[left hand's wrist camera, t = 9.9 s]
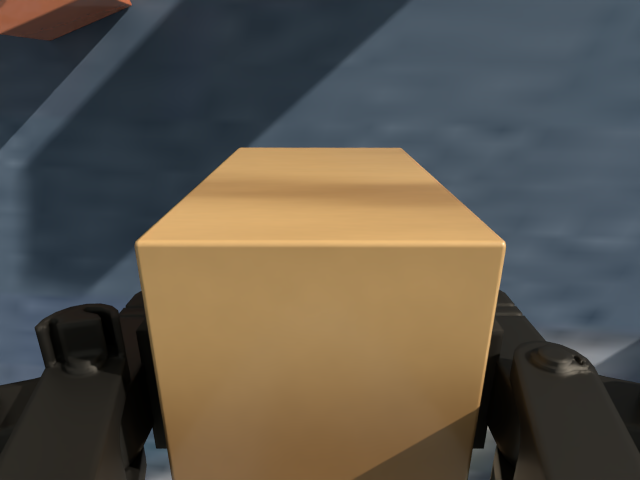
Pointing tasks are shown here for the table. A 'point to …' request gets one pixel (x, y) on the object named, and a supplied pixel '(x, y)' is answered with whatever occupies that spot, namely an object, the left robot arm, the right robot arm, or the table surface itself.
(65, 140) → the table surface
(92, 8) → the terracotta block
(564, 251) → the table surface
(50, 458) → the left robot arm
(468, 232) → the wood beam
